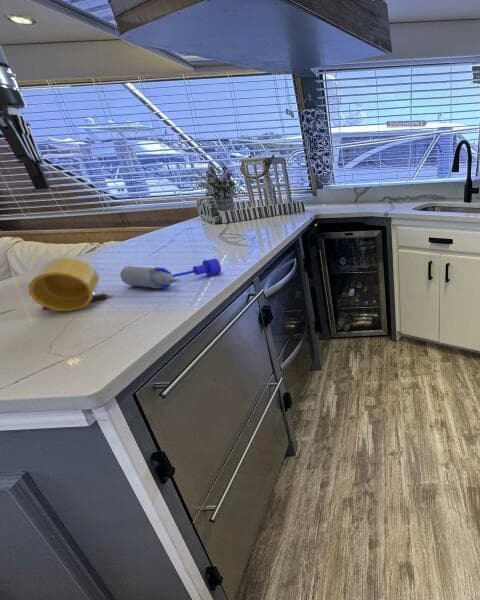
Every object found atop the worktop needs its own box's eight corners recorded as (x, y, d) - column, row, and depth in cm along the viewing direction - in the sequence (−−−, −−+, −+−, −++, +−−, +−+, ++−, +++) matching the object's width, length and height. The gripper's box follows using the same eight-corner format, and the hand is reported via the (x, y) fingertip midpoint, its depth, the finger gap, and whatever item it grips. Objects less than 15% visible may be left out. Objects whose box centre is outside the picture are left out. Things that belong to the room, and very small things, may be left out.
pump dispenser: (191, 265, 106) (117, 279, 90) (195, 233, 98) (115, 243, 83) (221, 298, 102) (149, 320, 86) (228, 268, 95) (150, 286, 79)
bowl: (41, 290, 78) (29, 308, 72) (41, 252, 74) (28, 269, 68) (98, 295, 84) (91, 313, 78) (100, 261, 80) (93, 277, 74)
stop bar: (43, 309, 77) (41, 305, 77) (46, 307, 78) (44, 302, 78) (107, 298, 82) (105, 294, 82) (108, 296, 84) (106, 292, 83)
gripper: (5, 83, 75) (52, 188, 85) (30, 94, 86) (69, 186, 95) (-42, 81, 72) (12, 191, 82) (-10, 92, 83) (35, 188, 92)
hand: (43, 188), depth 88 cm, fingers closed
